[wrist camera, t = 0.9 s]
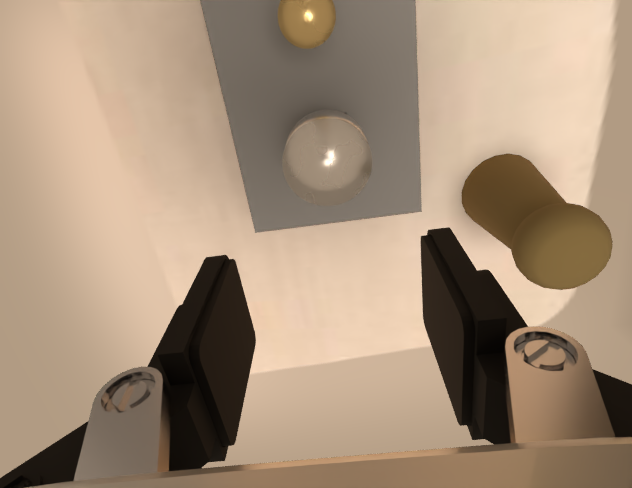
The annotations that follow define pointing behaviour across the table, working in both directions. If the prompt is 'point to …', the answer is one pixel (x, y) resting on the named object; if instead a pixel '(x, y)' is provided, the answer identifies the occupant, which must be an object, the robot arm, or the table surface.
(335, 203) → the knob
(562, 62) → the table surface
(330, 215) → the mount
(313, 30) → the brass shaft
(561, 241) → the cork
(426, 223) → the table surface
